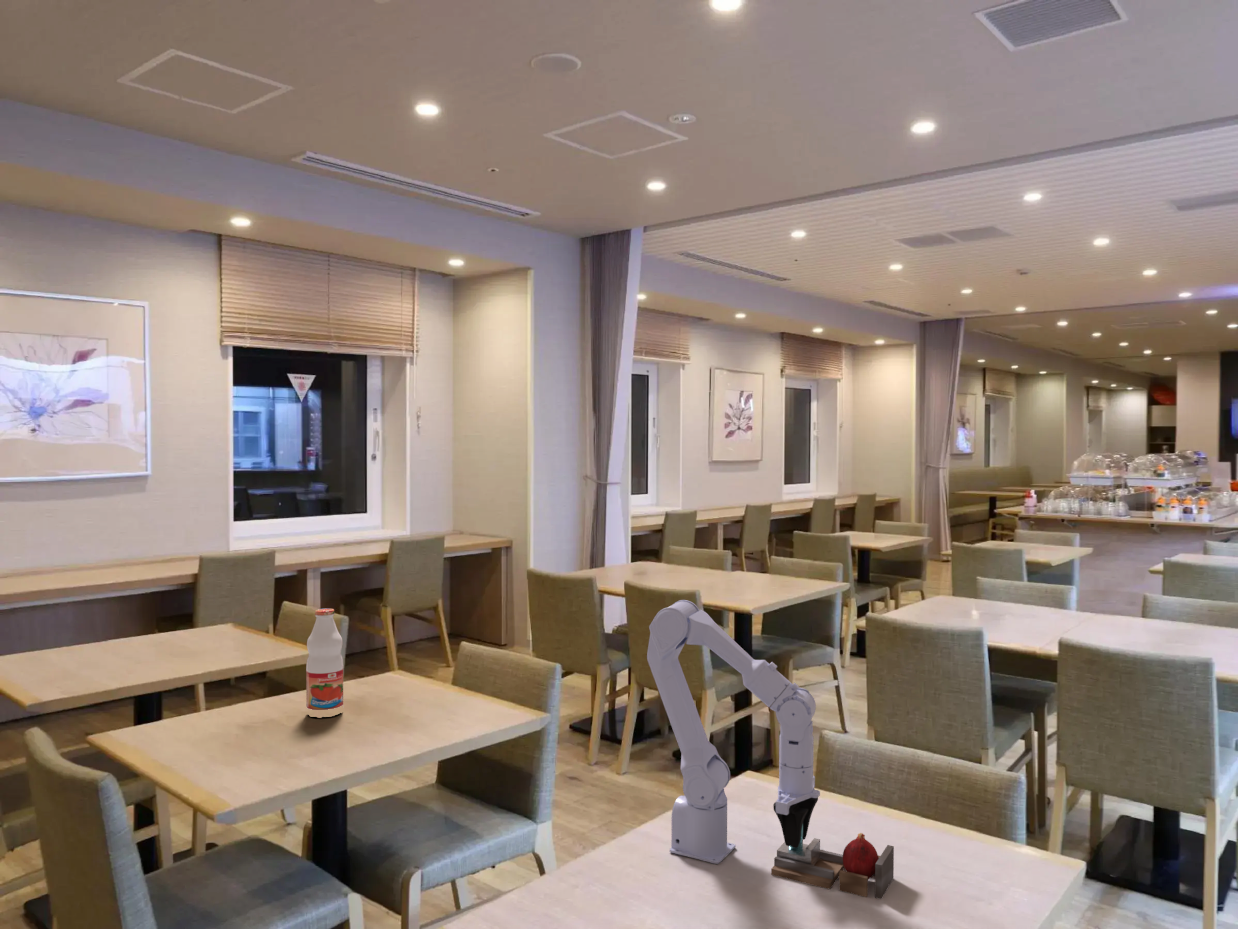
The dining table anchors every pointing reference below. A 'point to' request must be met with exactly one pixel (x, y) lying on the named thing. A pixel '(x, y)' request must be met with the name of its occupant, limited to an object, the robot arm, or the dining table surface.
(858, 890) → the frame
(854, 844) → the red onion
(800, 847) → the ram
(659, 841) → the dining table surface
